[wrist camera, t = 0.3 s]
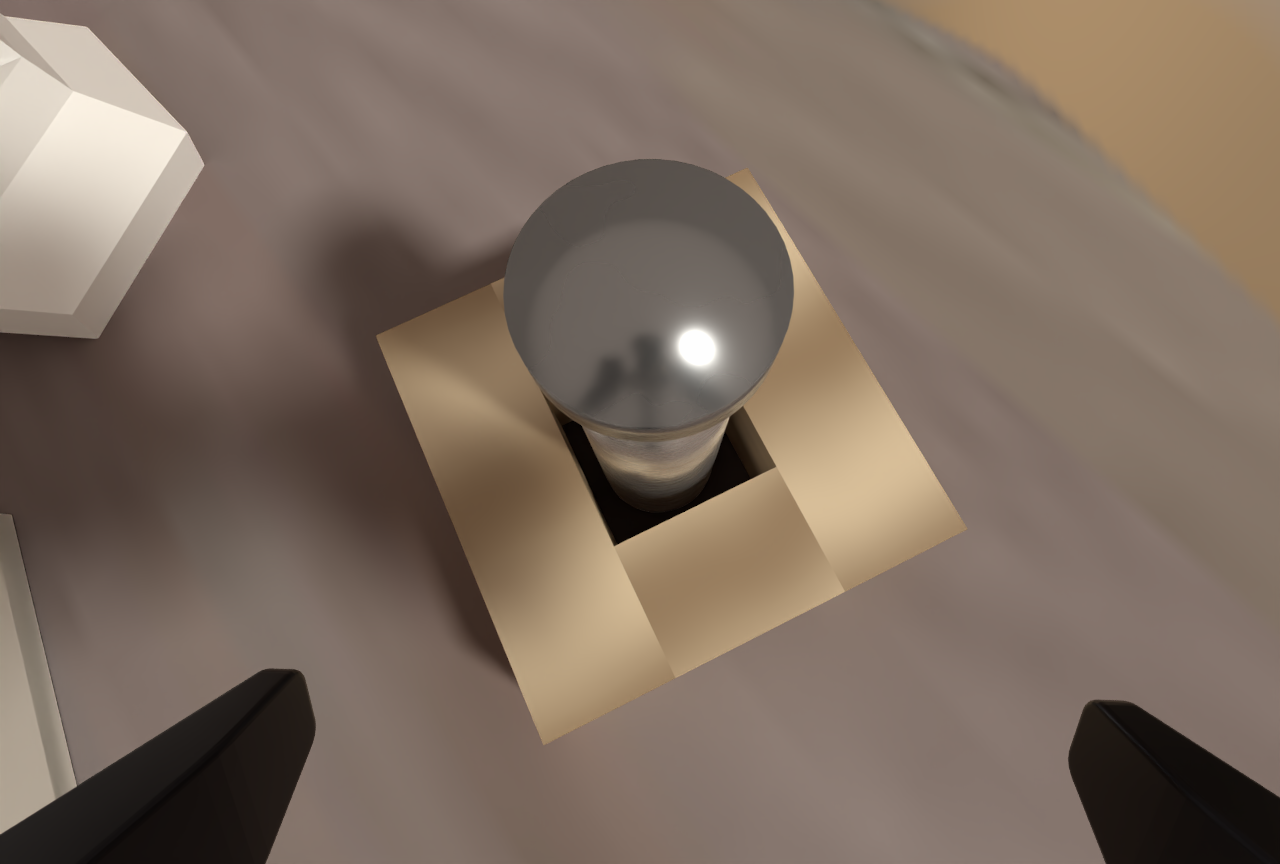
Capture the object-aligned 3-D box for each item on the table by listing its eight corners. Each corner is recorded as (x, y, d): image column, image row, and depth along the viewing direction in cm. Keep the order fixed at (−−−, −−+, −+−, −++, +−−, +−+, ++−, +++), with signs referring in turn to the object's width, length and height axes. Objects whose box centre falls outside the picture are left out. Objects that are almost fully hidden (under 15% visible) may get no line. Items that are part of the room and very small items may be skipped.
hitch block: (912, 542, 21) (967, 528, 18) (566, 719, 21) (543, 745, 17) (734, 237, 24) (747, 167, 20) (423, 380, 23) (375, 335, 20)
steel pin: (748, 488, 22) (848, 346, 10) (626, 548, 22) (575, 477, 10) (687, 373, 23) (710, 117, 11) (569, 428, 23) (460, 229, 11)
